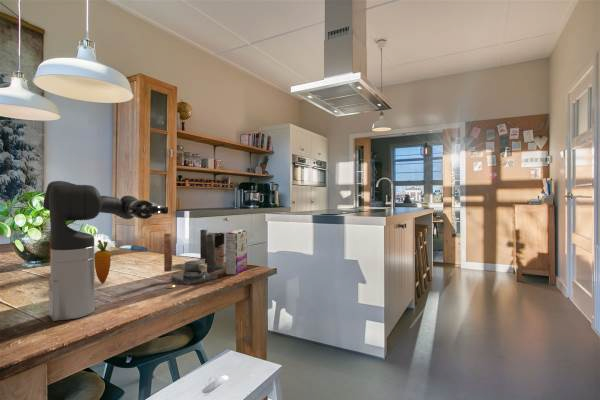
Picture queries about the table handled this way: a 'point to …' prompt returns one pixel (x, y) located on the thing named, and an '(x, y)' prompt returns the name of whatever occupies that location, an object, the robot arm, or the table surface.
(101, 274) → the carrot
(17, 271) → the table surface
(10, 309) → the table surface
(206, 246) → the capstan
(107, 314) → the table surface
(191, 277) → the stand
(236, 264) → the candy bar box
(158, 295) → the table surface
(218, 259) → the dark printed box
